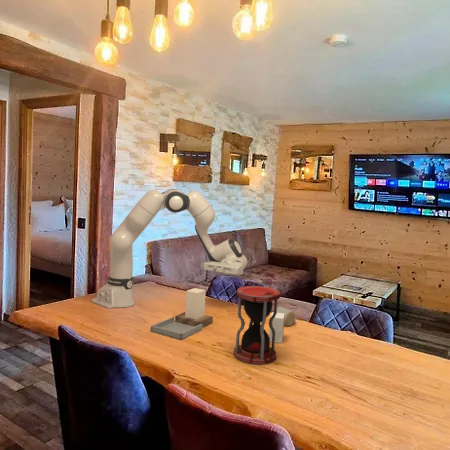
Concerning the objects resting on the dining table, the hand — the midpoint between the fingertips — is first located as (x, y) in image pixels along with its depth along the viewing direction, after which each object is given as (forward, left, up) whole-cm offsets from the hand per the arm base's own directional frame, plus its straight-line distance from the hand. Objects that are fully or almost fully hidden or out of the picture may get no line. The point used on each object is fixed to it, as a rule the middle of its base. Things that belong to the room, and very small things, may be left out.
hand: (214, 270), depth 204 cm
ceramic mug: (+34, +10, -22) cm, 42 cm away
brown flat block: (0, -17, -22) cm, 27 cm away
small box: (+39, -13, -22) cm, 47 cm away
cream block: (0, -16, -19) cm, 25 cm away
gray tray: (0, -30, -22) cm, 37 cm away
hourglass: (+39, -34, -22) cm, 56 cm away
